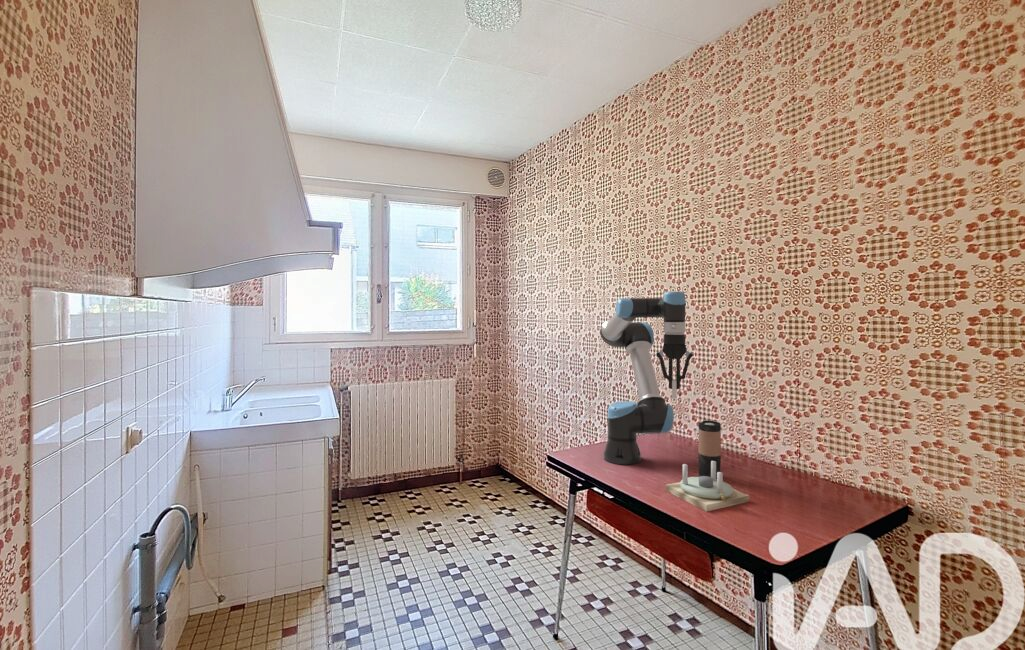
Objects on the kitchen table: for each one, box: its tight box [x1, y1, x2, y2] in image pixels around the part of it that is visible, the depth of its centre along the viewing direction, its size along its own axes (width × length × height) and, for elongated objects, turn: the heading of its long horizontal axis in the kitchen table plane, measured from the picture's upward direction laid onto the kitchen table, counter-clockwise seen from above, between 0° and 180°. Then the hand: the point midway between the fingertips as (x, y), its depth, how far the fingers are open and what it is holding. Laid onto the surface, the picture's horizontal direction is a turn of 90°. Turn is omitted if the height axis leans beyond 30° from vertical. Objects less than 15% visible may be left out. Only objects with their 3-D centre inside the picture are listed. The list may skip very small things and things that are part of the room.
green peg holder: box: [679, 461, 734, 499], centre depth 151 cm, size 16×16×8 cm
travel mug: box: [697, 420, 722, 479], centre depth 169 cm, size 8×8×20 cm
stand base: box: [665, 481, 750, 513], centre depth 151 cm, size 18×18×3 cm
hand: (674, 397), depth 169 cm, fingers closed
